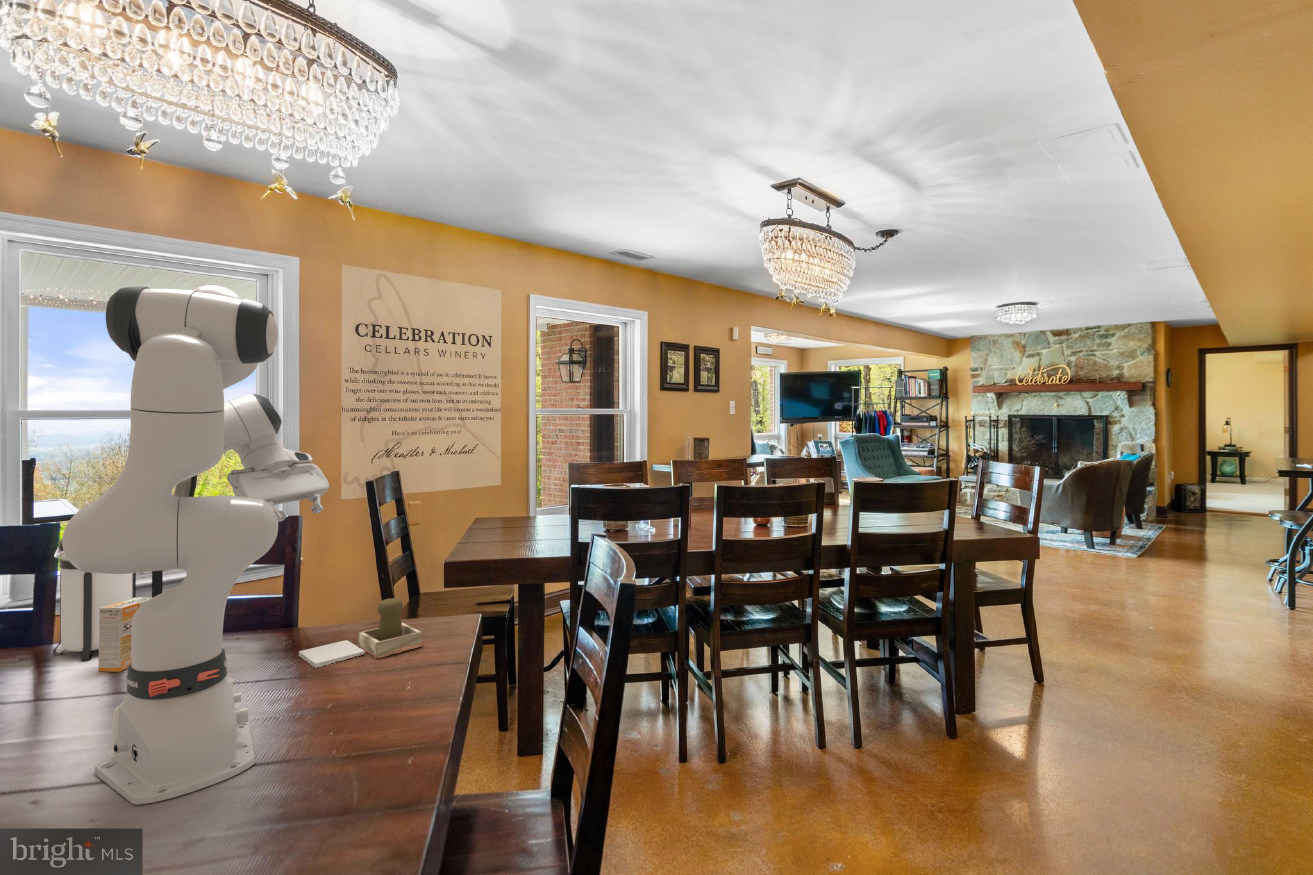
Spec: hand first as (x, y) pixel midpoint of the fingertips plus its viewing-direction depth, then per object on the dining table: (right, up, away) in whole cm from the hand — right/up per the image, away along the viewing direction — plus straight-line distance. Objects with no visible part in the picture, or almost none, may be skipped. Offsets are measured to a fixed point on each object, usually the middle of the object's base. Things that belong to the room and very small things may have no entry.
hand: (300, 515), depth 134 cm
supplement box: (-32, -30, -8) cm, 44 cm away
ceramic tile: (+8, -30, -2) cm, 32 cm away
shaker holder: (+18, -31, +4) cm, 36 cm away
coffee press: (-45, -30, +1) cm, 54 cm away
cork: (+18, -31, +4) cm, 36 cm away
